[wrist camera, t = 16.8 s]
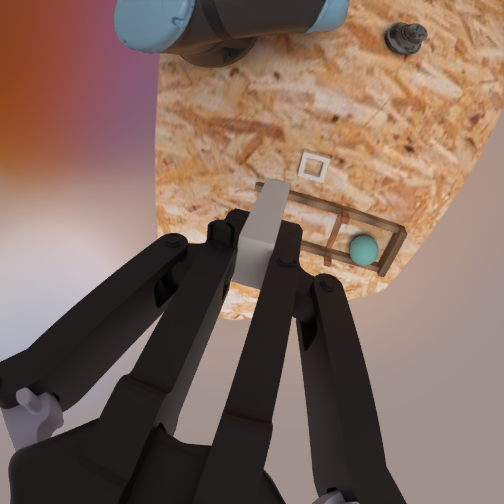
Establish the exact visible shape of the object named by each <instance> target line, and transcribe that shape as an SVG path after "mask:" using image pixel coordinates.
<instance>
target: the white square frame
mask: <svg viewBox="0 0 504 504" xmlns="http://www.w3.org/2000/svg"><path fill="white" fill-rule="evenodd" d="M307 158H311V159H314V160H318V161H321V162H323V165H322V168H321V172H320V174H317V173H314V172H310V171H307V170H304V169H305V165H306V162H307ZM329 163H330V156H327V155H324V154H320V153H317V152H313V151H310V150H306V149H304V152H303V156H302V160H301V164H300V168H299V172H298V177H302V178H306V179H309V180H313V181H316V182H319V183H324V179H325V176H326V173H327V169H328V166H329Z"/></svg>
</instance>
